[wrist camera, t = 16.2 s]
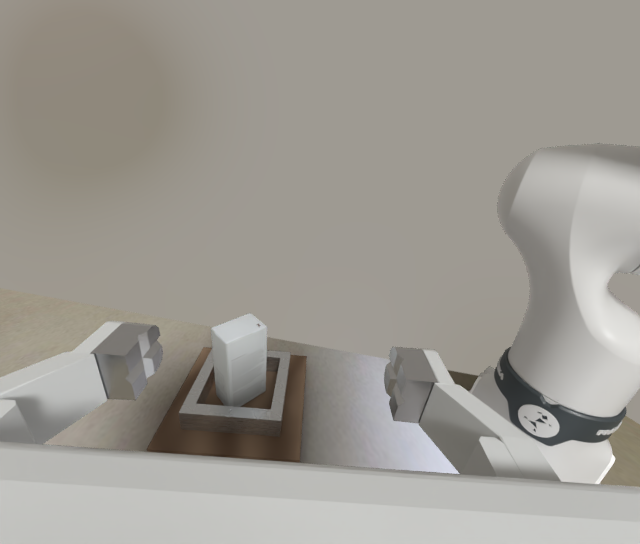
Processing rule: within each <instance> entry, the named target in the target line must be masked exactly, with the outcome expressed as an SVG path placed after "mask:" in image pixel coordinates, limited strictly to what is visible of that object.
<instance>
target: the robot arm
mask: <svg viewBox="0 0 640 544" xmlns="http://www.w3.org/2000/svg"><path fill="white" fill-rule="evenodd" d="M497 212H498V218H499V221H500V224H501V226H502V228H503V230H504V232H505V233H506V234H507V235H508V236H509V238H510V239H511V240H512V241H513V243H514V244H515V245H516V247H517V248H518V250H519V252H520V254H521V256H522V258H523V260H524V262H525V265H526V268H527V272H528V276H529V283H530V295H529V302H528V307H527V310H526V313H525V316H524V318H523V321H522V324H521V326H520V329H519V331H518V333H517V336H516V338H515V340H514V342H513V344H512V346H511V347H509V348H508V349H507V350H505V352H504V354H503V355H502V357H500V359H499V361H498V363H497V367H496V369H494V368H492V367H490V366H489V367H488V368H487V369H486V370H485V371H484V373H481V374H480V375H479V377H478V378H477V380H476V381H475V383H474V385H473V387H472V389H471V390H469V391H467V390H466V389H464V388H463V387H462V386H460V385H455V383H454V381H453V380H452V378H451V376H450V374H449V372H448V371H447V369H446V367H445V365H444V363H443V361H442V360H441V358H440V356H439V354H438V353H437V351H436V350H434V349H414V348H402V347H392V349H391V350H390V354H389V357H390V361H391V362H390V363H388V364H387V365H386V369H385V375H384V383H385V389H386V393H387V394H388V395H389V396H390V397H391V398H390V402H389V405H390V409H391V413H392V417H393V420H394V421H401V422H410V423H419V426H420V427H421V428H422V429H423V430H424V432H425V433H426V434H427V435H428V436H429V437H430V439H431V440H432V441H433V442H434V443H435V445H436V446H437V447H438V448H439V449H440V451H441V452H442V453H443V454H444V455H445V456H446V458H447V459H448V460H449V461H450V462H451V464H452V465H453V466H454V467H455V468H456V469H457V471H458V472H459V473H460V474H450V473H436V472H422V471H409V470H395V469H381V468H367V467H353V466H339V465H325V464H311V463H297V462H283V461H269V460H255V459H241V458H227V457H213V456H200V455H186V454H172V453H158V452H144V451H130V450H116V449H102V448H88V447H74V446H60V445H46V444H43V443H45V442H46V441H48V440H49V439H51V438H52V437H54V436H55V435H57V434H58V433H60V432H61V431H63V430H64V429H66V428H67V427H69V426H70V425H72V424H73V423H75V422H76V421H78V420H79V419H81V418H82V417H84V416H85V415H87V414H88V413H90V412H91V411H93V410H94V409H96V408H97V407H98V406H100V405H101V404H103V403H104V402H106V401H107V399H119V400H136V399H137V398H138V396H139V395H140V393H141V392H142V391H143V389H144V388H145V386H146V385H147V379H146V378H147V377H149V376H151V375H153V374H154V373H155V372H156V371H157V369H158V368H159V366H160V363H161V360H162V355H163V350H162V345H161V344H160V343H159V342H158V341H157V339H158V338H159V336H160V332H159V327H157V326H156V325H148V324H139V323H130V322H120V321H108V322H106V323H105V324H104V325H102V326H101V327H100V328H99V329H98V330H97V331H95V332H94V333H93V334H92V335H91V336H89V337H88V338H87V339H86V340H85V341H84V342H82V343H81V344H80V345H79V346H78V347H77V348H75V349H74V350H73V351H72V352H64V353H61V354H59V355H56V356H54V357H51V358H49V359H46V360H43V361H41V362H38V363H36V364H33V365H31V366H28V367H26V368H23V369H21V370H18V371H15V372H13V373H10V374H8V375H5V376H3V377H0V544H640V487H632V486H617V485H603V484H600V482H601V480H602V479H603V477H604V476H605V475H606V473H607V472H608V471H609V469H610V468H611V466H612V465H613V463H614V461H615V457H614V456H613V455H612V448H611V445H610V443H609V441H608V438H609V437H610V436H611V434H612V433H614V432H615V431H616V430H617V429H618V428H619V426H620V425H621V423H622V420H623V418H624V417H625V414H626V405H627V404H628V402H629V401H630V400H631V399H632V397H633V396H634V395H635V394H636V392H637V391H638V390H639V389H640V315H639V314H638V313H636V312H635V311H634V310H633V309H631V308H630V307H629V306H627V305H626V304H625V303H623V302H622V301H621V300H620V299H618V298H617V297H616V296H615V295H614V294H613V293H612V292H611V291H610V290H609V288H608V286H607V284H608V281H609V280H610V278H611V276H612V275H613V274H615V273H618V272H620V273H631V274H635V275H639V276H640V147H638V146H626V145H613V144H600V143H597V144H584V145H583V144H582V145H568V146H557V147H547V148H540V149H538V150H537V151H535V152H533V153H531V154H530V155H529V156H527V157H526V158H524V159H523V160H522V161H521V162H520V163H519V164H518V165H517V166H516V167H515V168H514V169H513V170H512V171H511V172H510V174H509V175H508V176H507V178H506V179H505V181H504V183H503V185H502V187H501V190H500V193H499V196H498V202H497Z"/></svg>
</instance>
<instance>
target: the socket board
mask: <svg viewBox="0 0 640 544" xmlns="http://www.w3.org/2000/svg"><path fill="white" fill-rule="evenodd" d="M306 358H307V356H296V355H291V352H281V351H270V350H267V362H266V391H265V392H263V393H262V394H260V395H258V396H257V397H255V398H254V399H252V400H250V401H249V402H247V403H246V404H244V405H242V406H241V407H234V406H225V405H224V404H223V403H222V401H221V400H220V399H219V398H218V396H217V395H216V385H215V373H214V360H213V348H205V347H204V348H203V349H202V351H201V353H200V355H199V357H198V358H197V360H196V362H195V364H194V366H193V367H192V369H191V371H190V373H189V374H188V376H187V378H186V380H185V382H184V383H183V385H182V387H181V389H180V391H179V392H178V394H177V396H176V398H175V399H174V401H173V403H172V405H171V407H170V408H169V410H168V412H167V414H166V416H165V417H164V419H163V421H162V423H161V424H160V426H159V428H158V430H157V432H156V433H155V435H154V437H153V439H152V441H151V442H150V444H149V446H148V448H147V452H158V453H172V454H186V455H200V456H213V457H227V458H241V459H255V460H269V461H283V462H297V463H299V462H300V449H301V434H302V419H303V403H304V388H305V373H306Z"/></svg>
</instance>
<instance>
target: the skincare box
mask: <svg viewBox="0 0 640 544" xmlns="http://www.w3.org/2000/svg"><path fill="white" fill-rule="evenodd" d="M211 336H212V348H213V360H214V373H215V385H216V395H217V396H218V398H219V399H220V400H221V401H222V403H223V404H224V405H225V406H234V407H241V406H242V405H244V404H246V403H247V402H249V401H250V400H252V399H254V398H255V397H257V396H258V395H260V394H262V393H263V392H265V391H266V362H267V326H266V325H265V324H263V323H262V322H261V321H260V320H258V319H257V318H256V317H255V316H254V315H252V314H251V313H248V314H246V315H243V316H241V317H239V318H236V319H233V320H231V321H228V322H225V323H223V324H220V325H218V326H215V327H212V328H211Z"/></svg>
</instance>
